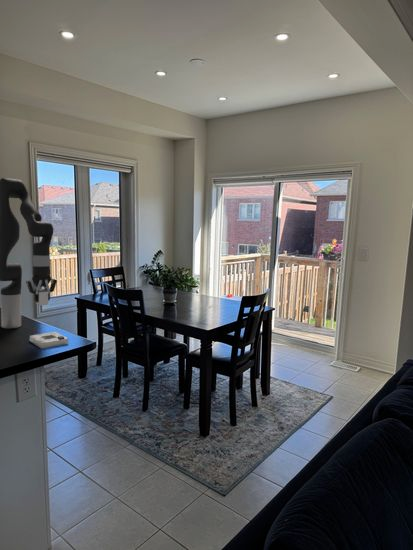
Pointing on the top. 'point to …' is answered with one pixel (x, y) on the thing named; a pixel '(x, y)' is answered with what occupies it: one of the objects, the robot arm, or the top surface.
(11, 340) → the top surface
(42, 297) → the plug
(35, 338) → the socket
